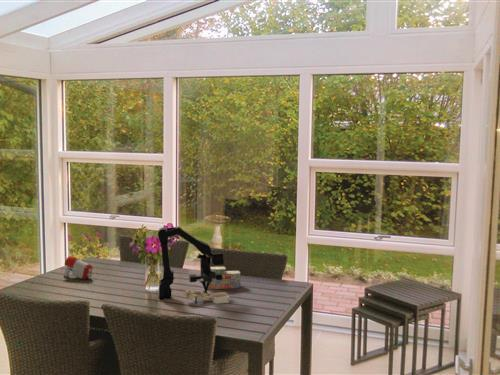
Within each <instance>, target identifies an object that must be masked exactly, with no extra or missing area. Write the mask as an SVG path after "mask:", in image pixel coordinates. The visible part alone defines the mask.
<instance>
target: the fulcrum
mask: <svg viewBox="0 0 500 375" xmlns="http://www.w3.org/2000/svg"><path fill="white" fill-rule="evenodd" d="M191 301H192V303H193V304H194V306H199V305H202V306H203V305H205V302H204V300H202V296H197V299H193V298H191Z"/></svg>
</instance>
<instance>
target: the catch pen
mask: <svg viewBox="0 0 500 375" xmlns="http://www.w3.org/2000/svg"><path fill="white" fill-rule="evenodd" d="M219 294H221V295H222V296H223V297H217V296H218V295H219ZM210 297H212V299H211V301H212V302H213V304H214V305H215V304H226V303H230V296H229V294H228V293H227V292H225V291H224V292H211V293H210Z"/></svg>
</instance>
